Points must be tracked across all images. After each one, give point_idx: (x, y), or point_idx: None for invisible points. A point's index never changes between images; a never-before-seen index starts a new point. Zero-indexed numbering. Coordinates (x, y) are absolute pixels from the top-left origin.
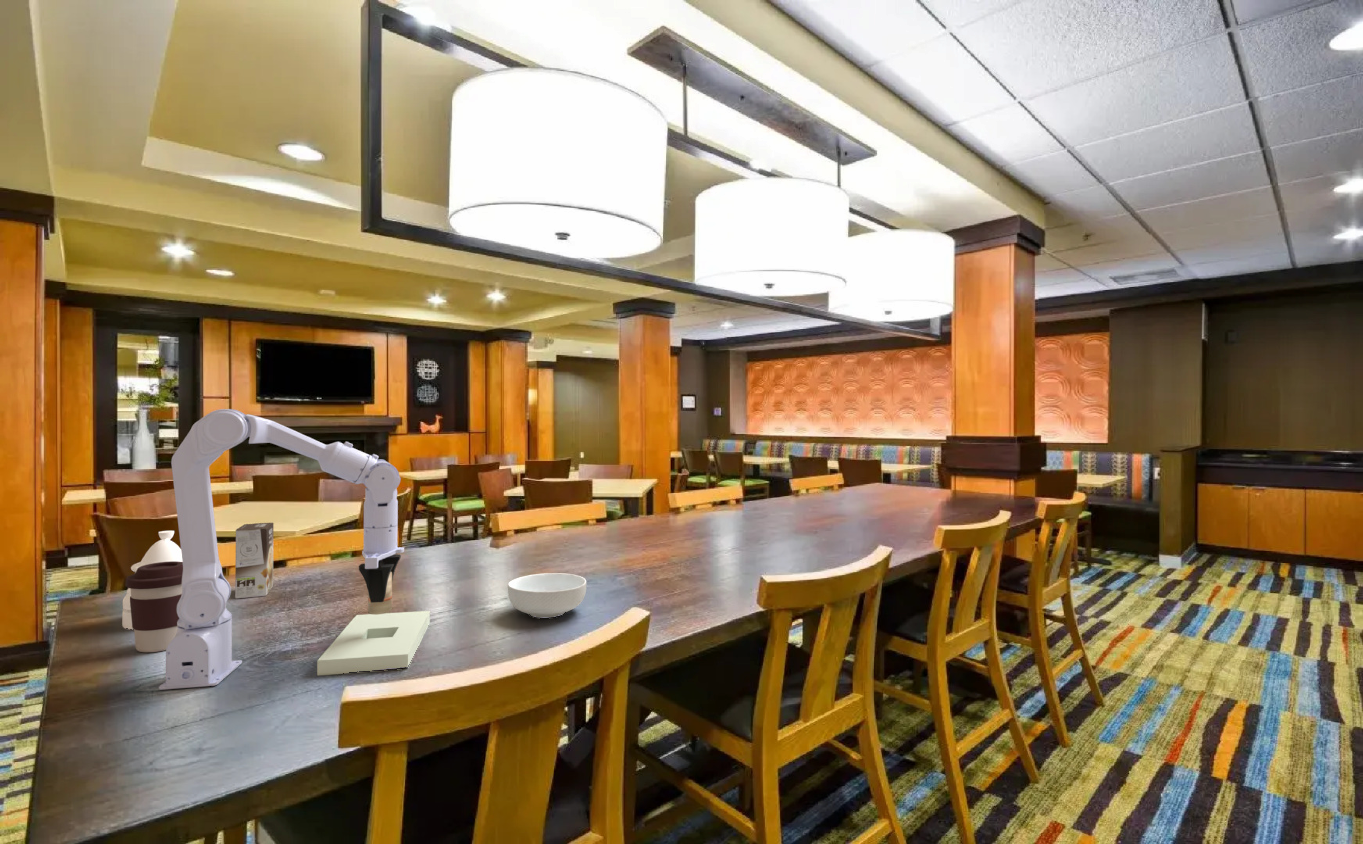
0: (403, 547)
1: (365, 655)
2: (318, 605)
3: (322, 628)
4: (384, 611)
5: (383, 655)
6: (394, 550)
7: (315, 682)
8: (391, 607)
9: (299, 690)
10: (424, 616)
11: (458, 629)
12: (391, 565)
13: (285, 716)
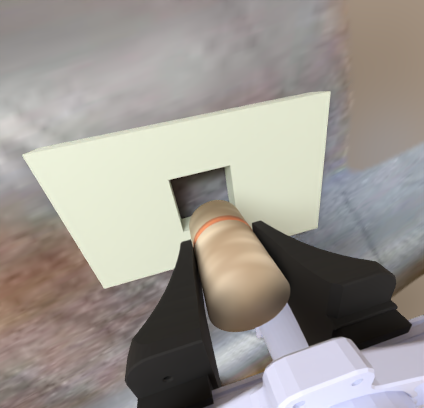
0: (288, 404)
1: (316, 171)
2: (12, 373)
3: (124, 308)
4: (236, 208)
5: (324, 139)
6: (385, 386)
7: (324, 207)
8: (213, 204)
9: (341, 212)
10: (78, 151)
11: (68, 42)
12: (374, 280)
13: (402, 188)
